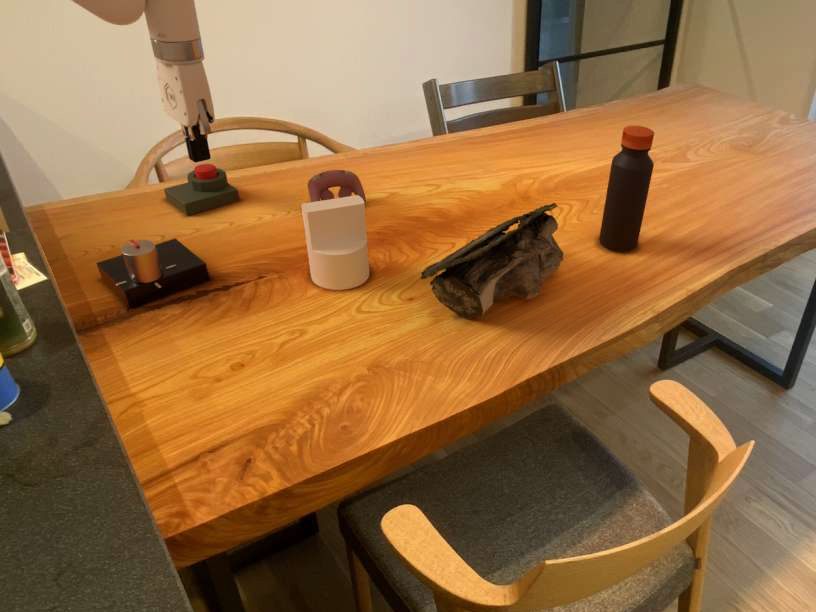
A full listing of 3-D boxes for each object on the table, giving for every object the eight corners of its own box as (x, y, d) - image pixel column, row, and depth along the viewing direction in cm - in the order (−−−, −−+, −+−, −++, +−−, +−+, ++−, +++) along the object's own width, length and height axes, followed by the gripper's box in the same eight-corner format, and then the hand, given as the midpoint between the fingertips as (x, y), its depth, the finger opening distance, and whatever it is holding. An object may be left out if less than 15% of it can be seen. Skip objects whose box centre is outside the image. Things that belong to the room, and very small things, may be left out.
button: (202, 182, 123) (200, 173, 122) (192, 176, 125) (190, 166, 124) (221, 177, 125) (219, 168, 124) (211, 171, 127) (209, 162, 126)
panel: (135, 316, 97) (128, 297, 95) (100, 280, 103) (93, 262, 101) (217, 286, 104) (213, 268, 102) (179, 254, 110) (175, 237, 108)
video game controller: (362, 205, 131) (355, 167, 129) (368, 204, 127) (361, 165, 125) (310, 213, 127) (302, 174, 125) (315, 212, 123) (306, 172, 121)
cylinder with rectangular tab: (320, 294, 104) (311, 222, 96) (304, 266, 110) (294, 195, 102) (377, 282, 107) (372, 211, 100) (358, 255, 113) (353, 186, 106)
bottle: (590, 242, 121) (608, 129, 109) (613, 230, 125) (633, 120, 113) (622, 257, 118) (644, 142, 105) (644, 244, 122) (668, 132, 109)
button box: (187, 215, 121) (181, 194, 118) (165, 199, 125) (160, 178, 123) (241, 200, 127) (237, 179, 124) (219, 185, 131) (214, 164, 128)
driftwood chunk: (438, 358, 101) (495, 327, 89) (391, 283, 100) (442, 242, 88) (552, 281, 118) (612, 246, 106) (512, 216, 116) (569, 174, 104)
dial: (168, 276, 100) (160, 246, 97) (138, 286, 97) (128, 256, 94) (154, 264, 102) (146, 235, 99) (124, 274, 100) (115, 244, 97)
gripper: (134, 41, 113) (160, 150, 125) (176, 63, 105) (200, 178, 117) (179, 35, 118) (200, 142, 129) (222, 57, 110) (241, 168, 121)
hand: (200, 159), depth 123 cm, fingers closed
